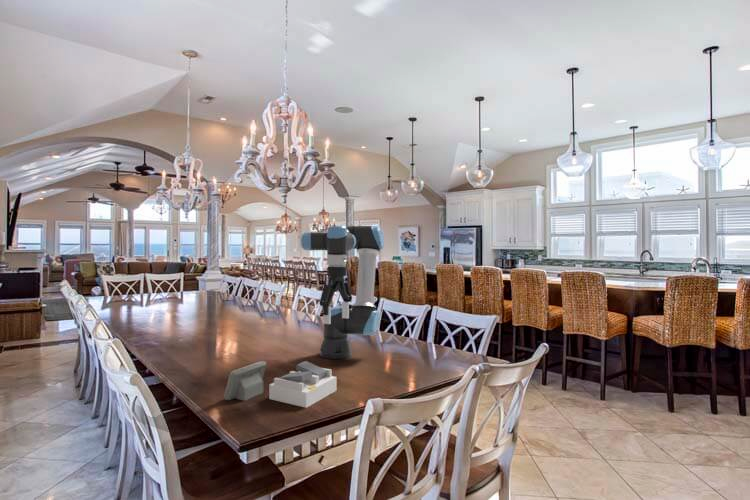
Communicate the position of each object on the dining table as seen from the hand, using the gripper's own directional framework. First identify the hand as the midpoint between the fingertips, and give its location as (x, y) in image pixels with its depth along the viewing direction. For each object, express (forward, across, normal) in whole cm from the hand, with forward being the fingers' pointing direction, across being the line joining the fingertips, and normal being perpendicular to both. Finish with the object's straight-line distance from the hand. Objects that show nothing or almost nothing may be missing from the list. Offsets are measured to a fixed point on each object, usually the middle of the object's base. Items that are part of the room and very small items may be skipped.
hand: (336, 320), depth 157 cm
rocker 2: (+18, -11, +4) cm, 21 cm away
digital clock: (+25, -24, +23) cm, 41 cm away
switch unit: (+24, -15, +4) cm, 29 cm away
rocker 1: (+18, -20, +4) cm, 27 cm away
